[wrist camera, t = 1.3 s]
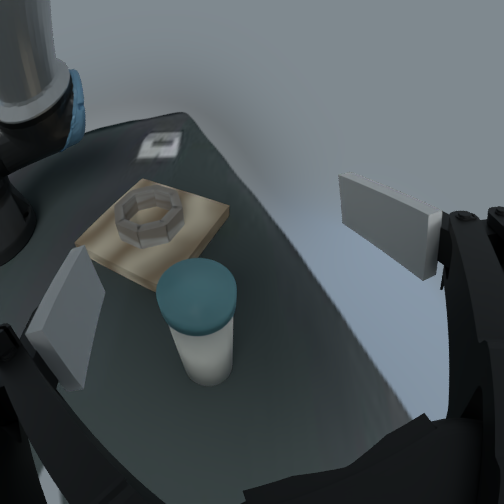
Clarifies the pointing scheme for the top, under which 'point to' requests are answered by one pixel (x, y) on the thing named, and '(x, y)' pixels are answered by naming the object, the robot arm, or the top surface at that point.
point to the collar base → (155, 256)
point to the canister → (200, 316)
